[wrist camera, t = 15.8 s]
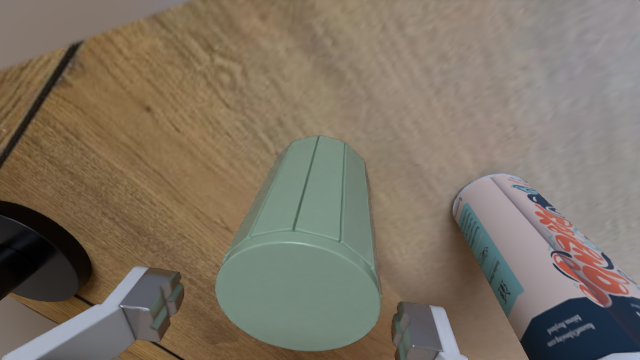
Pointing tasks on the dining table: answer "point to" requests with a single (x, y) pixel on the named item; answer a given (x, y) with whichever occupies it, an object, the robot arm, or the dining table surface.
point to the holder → (38, 256)
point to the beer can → (548, 274)
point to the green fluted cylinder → (306, 252)
